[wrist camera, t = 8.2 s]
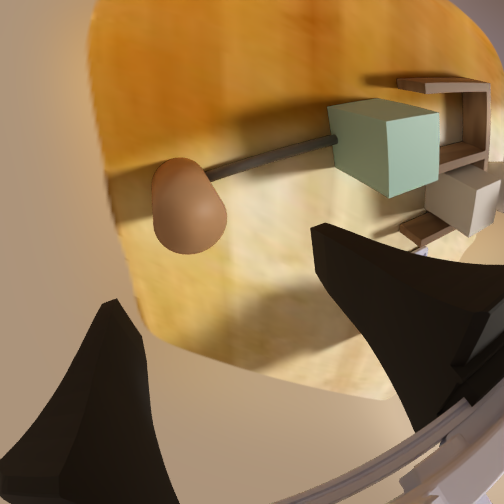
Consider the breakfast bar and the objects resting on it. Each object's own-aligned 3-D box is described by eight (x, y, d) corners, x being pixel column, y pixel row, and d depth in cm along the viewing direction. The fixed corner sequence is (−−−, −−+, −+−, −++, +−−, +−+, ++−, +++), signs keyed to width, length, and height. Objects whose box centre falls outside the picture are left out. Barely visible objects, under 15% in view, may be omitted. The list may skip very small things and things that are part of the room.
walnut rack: (461, 203, 28) (480, 215, 25) (399, 231, 26) (420, 247, 24) (465, 77, 20) (490, 83, 17) (396, 78, 18) (425, 83, 16)
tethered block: (382, 153, 21) (438, 180, 17) (165, 224, 19) (174, 278, 14) (377, 98, 19) (439, 112, 14) (140, 161, 17) (137, 195, 12)
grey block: (451, 196, 27) (493, 222, 22) (423, 208, 26) (468, 237, 21) (454, 156, 24) (501, 179, 19) (426, 164, 24) (476, 190, 19)
